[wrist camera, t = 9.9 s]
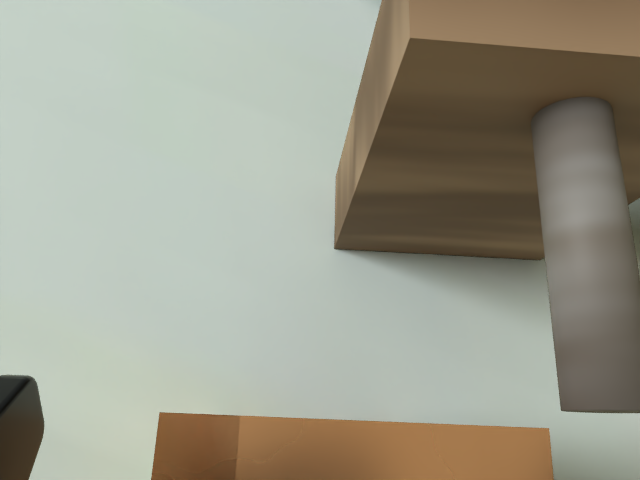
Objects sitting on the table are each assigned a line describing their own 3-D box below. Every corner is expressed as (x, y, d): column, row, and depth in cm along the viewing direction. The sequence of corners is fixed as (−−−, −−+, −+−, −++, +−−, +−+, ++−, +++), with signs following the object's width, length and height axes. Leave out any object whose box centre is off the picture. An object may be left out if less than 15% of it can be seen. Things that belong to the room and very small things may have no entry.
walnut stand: (556, 423, 20) (948, 416, 8) (330, 415, 19) (419, 396, 8) (532, 188, 22) (798, -54, 11) (335, 176, 22) (405, -93, 11)
